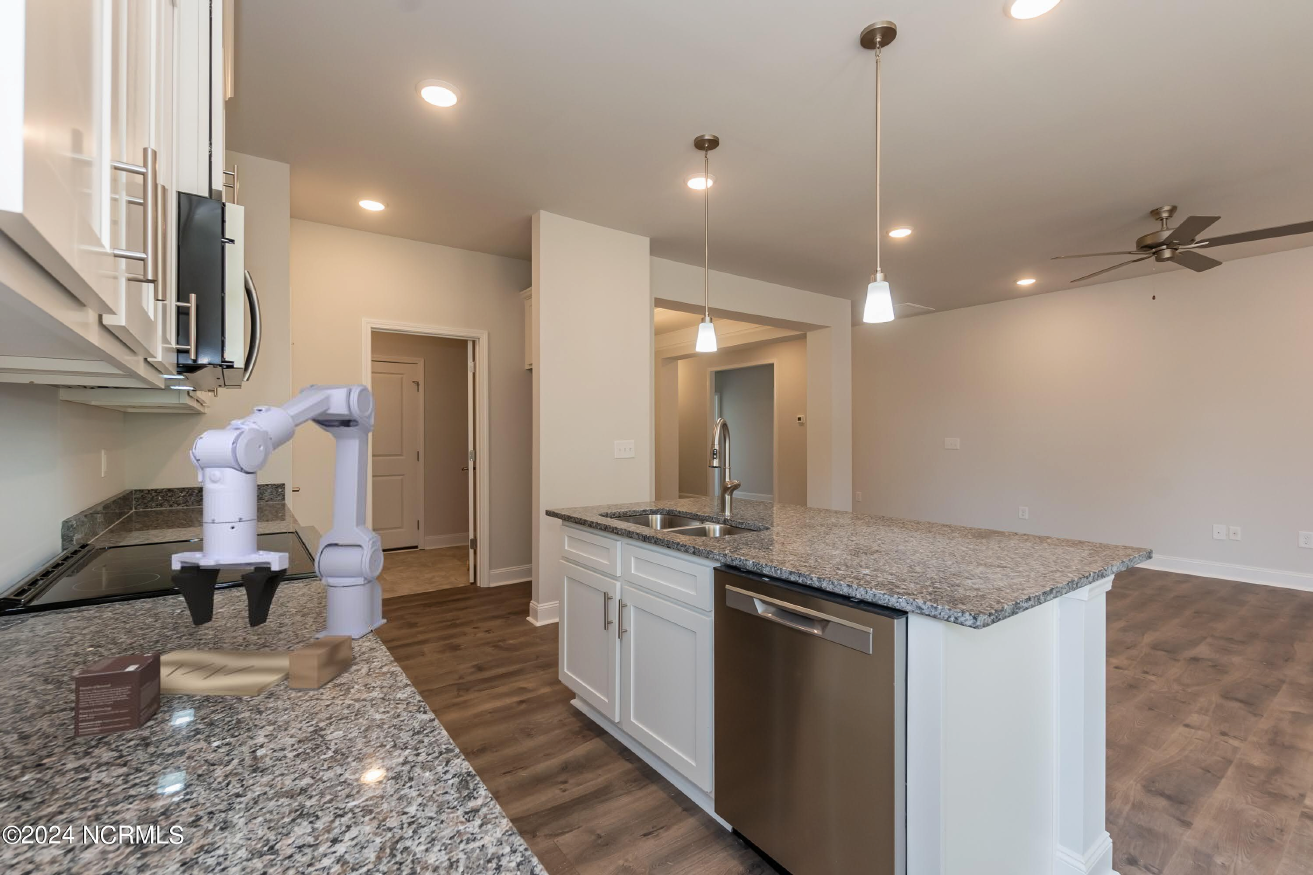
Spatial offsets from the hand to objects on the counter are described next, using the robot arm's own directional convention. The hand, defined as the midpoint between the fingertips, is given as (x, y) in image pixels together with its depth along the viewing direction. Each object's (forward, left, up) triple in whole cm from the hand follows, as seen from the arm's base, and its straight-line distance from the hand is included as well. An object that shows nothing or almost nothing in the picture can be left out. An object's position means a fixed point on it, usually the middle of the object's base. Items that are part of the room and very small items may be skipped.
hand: (230, 623), depth 76 cm
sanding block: (-7, +8, -10) cm, 15 cm away
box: (+7, -8, -10) cm, 15 cm away
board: (-8, -9, -10) cm, 16 cm away
